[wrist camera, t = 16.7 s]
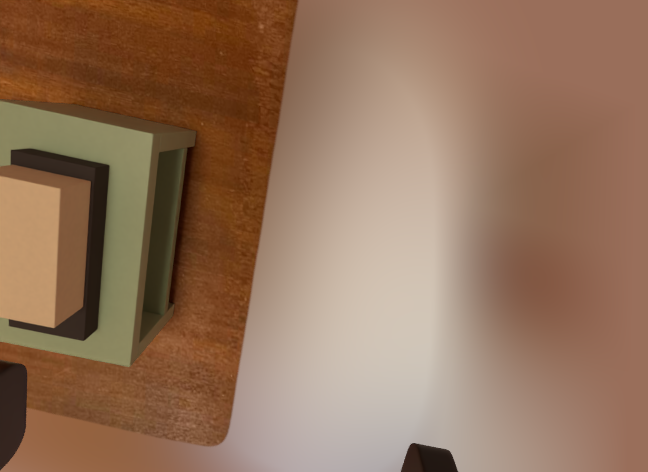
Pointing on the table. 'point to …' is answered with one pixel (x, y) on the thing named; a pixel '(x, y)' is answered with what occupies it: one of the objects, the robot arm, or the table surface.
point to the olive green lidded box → (113, 218)
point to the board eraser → (52, 242)
